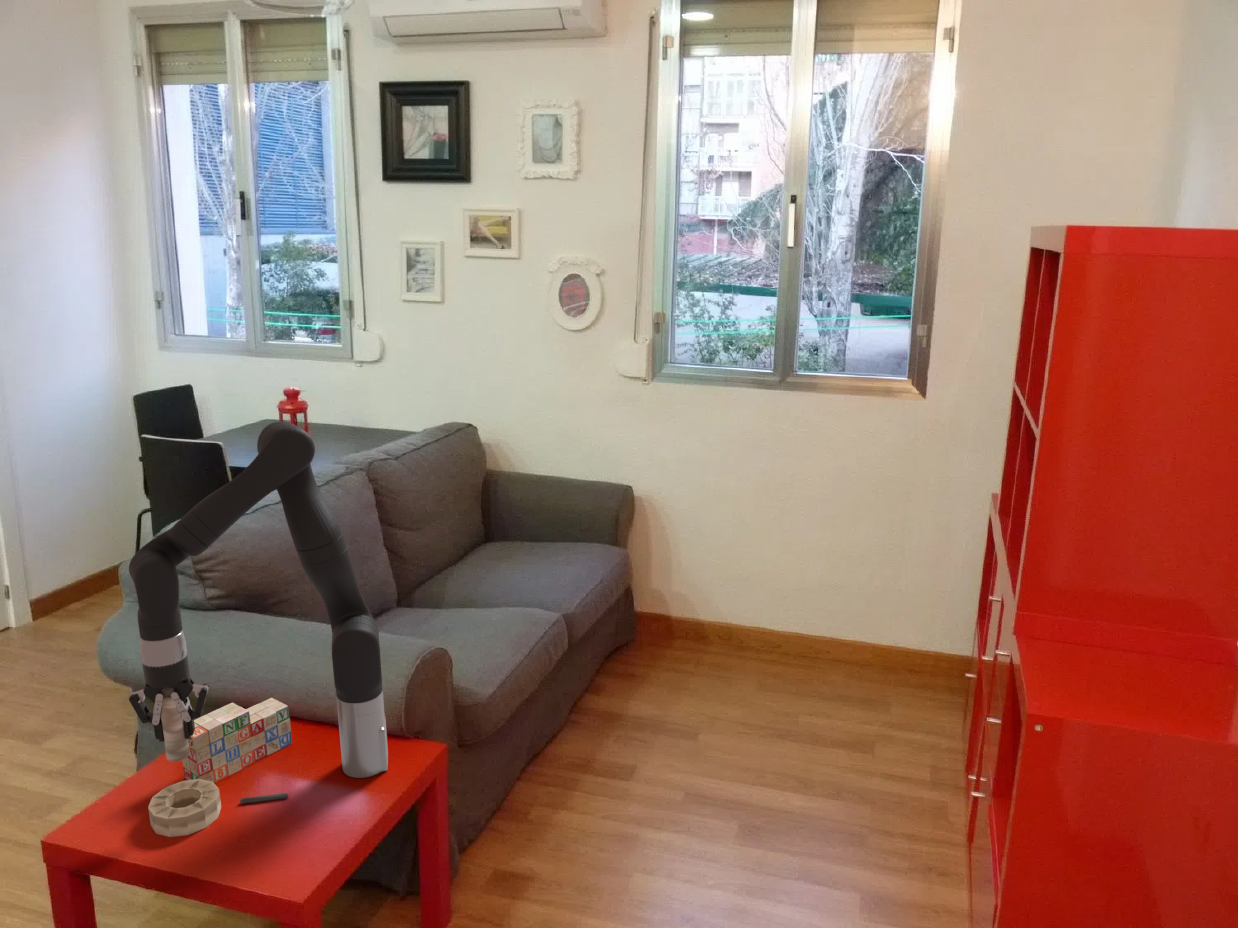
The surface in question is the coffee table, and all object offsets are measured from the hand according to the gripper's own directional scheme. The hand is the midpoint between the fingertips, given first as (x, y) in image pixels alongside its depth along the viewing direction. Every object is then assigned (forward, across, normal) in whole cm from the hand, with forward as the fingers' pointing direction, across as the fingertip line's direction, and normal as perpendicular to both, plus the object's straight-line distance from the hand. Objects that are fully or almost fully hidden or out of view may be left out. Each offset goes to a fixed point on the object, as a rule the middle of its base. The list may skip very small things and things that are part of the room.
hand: (175, 737), depth 176 cm
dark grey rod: (+17, -14, -2) cm, 22 cm away
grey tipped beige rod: (+4, 0, 0) cm, 4 cm away
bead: (+17, 0, 0) cm, 17 cm away
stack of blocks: (+17, -7, -18) cm, 26 cm away
